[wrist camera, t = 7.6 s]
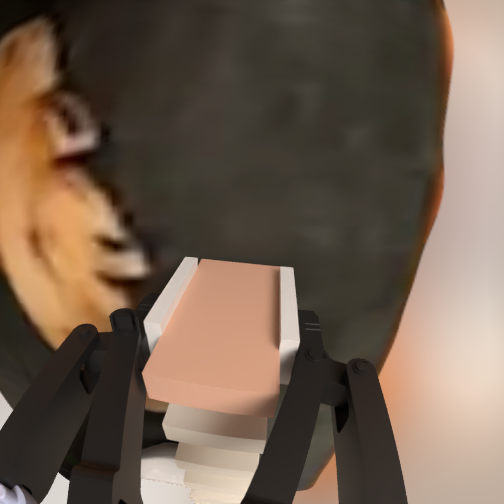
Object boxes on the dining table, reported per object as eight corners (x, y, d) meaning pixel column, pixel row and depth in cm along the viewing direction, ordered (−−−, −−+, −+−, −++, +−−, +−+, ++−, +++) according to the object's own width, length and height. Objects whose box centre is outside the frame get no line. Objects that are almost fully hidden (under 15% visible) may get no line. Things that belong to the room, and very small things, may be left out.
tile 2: (205, 354, 22) (174, 459, 13) (265, 361, 22) (257, 471, 13) (205, 366, 23) (177, 468, 14) (264, 373, 23) (255, 479, 14)
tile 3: (206, 387, 24) (182, 481, 15) (260, 393, 24) (252, 491, 15) (207, 397, 25) (185, 487, 16) (259, 403, 25) (250, 496, 16)
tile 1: (203, 310, 21) (162, 424, 11) (272, 318, 20) (265, 440, 11) (204, 327, 21) (166, 438, 12) (269, 334, 21) (262, 453, 12)
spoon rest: (233, 445, 29) (225, 494, 23) (220, 473, 34) (214, 511, 28) (63, 388, 29) (40, 425, 23) (81, 428, 34) (65, 459, 27)
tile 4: (208, 412, 26) (189, 496, 17) (256, 418, 26) (248, 504, 17) (208, 420, 27) (191, 500, 18) (255, 426, 27) (247, 508, 17)
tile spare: (201, 258, 18) (141, 372, 9) (279, 266, 18) (279, 393, 9) (201, 280, 19) (149, 398, 10) (276, 288, 19) (273, 417, 10)
